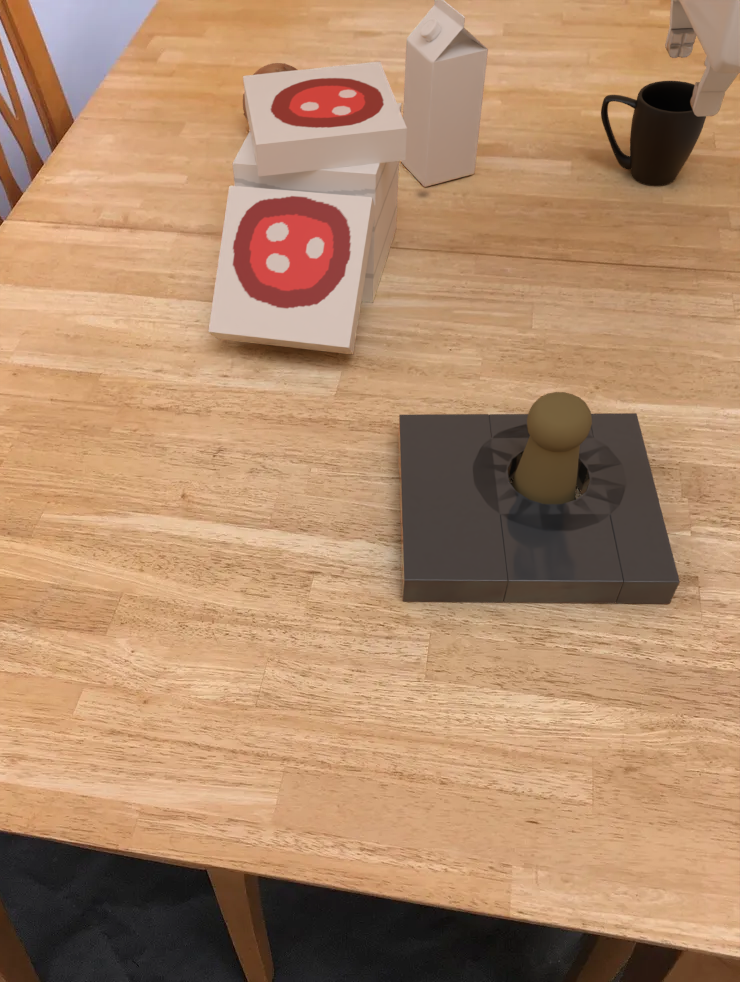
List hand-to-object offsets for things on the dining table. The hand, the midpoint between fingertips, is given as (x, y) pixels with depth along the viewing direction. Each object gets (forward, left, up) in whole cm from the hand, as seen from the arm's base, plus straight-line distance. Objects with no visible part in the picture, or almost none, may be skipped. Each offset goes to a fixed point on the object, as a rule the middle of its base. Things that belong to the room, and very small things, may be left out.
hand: (689, 81), depth 70 cm
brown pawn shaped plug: (+8, +16, -29) cm, 34 cm away
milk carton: (+15, -42, -29) cm, 53 cm away
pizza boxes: (+30, -17, -29) cm, 45 cm away
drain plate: (+10, +18, -29) cm, 35 cm away
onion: (+36, -52, -29) cm, 70 cm away
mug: (-10, -40, -29) cm, 51 cm away
